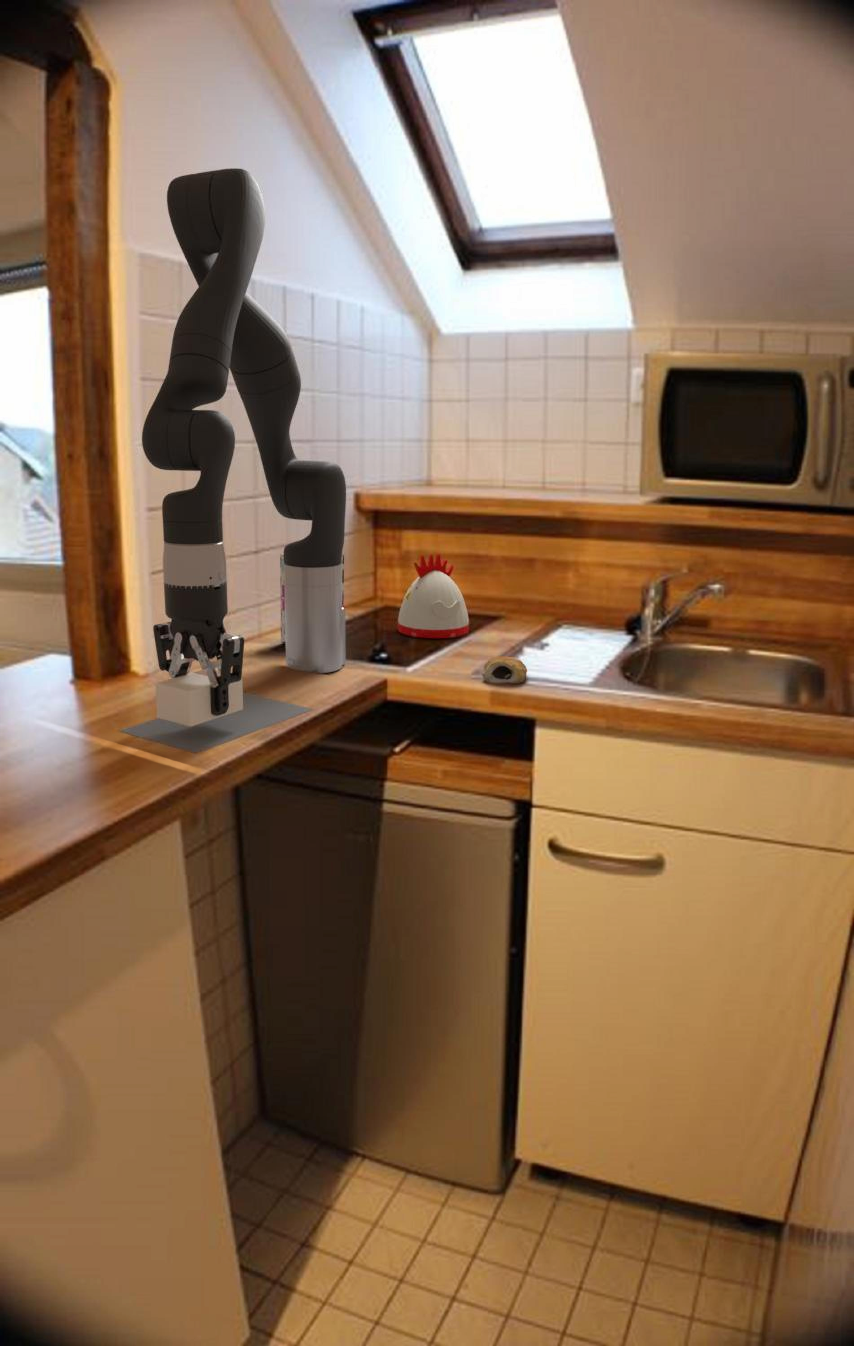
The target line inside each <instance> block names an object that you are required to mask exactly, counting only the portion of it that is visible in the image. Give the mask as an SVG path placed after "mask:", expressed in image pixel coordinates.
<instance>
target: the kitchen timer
mask: <svg viewBox="0 0 854 1346" xmlns="http://www.w3.org/2000/svg"><path fill="white" fill-rule="evenodd" d="M433 555H434V554H429V556H428V561H426V559H425V556H424V555H420V563H419V565H418V563H417V562H414V561H413V565H414V569H415V571H416V573H417V575H418V577H417V578H416V579H415V580H414V581H413V582H412V584H411V585H410V586H409V587H408V589H407V592H405V595H404V598H403V600H402V604H401V606H400V609H399V612H398V618H397V631H398V632H399V633H401V634H402V635H406V636H410V637H414V638H416V637H417V638H423V639H449V638H456V637H461V636H465V635H467V634H469V628H470V627H469V626H470V619H469V614H468V609H467V606H466V603H465V599H464V597H463V594H462V592H461V590H460V588H459V586H458V585H457V584H456V582H455V581H454V579H452V578H451V577H450V576H451V574H452V572H453V569H454V565H453V564H451V565H450V566H449V567H448V569H447V570H446V568H447V563H448V559H445V558H444V559H443V561H442V560H441V554H439V553H436V555H435V561H434V556H433ZM426 562H427V563H426Z"/></svg>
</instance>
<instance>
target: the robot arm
mask: <svg viewBox="0 0 854 1346" xmlns="http://www.w3.org/2000/svg"><path fill="white" fill-rule="evenodd" d="M166 192H167V193H166V204H167V205H166V206H167V212H168V215H169V216H168V217H169V219H170V223H171V227H172V229H173V232H174V236H175V238H176V240H177V242H178V243H177V244H178V245H179V247H180V249H181V252H182V254H183V256H184V259H185V260H186V262H187V265H188V266H189V268H190V272H191V273H192V275H193V277H194V280H195V281H196V285H197V286H198V287H197V288H196V290H195V291H194V293H193V294H192V296H191V297H190V298H189V300H188V301H187V303H186V304H185V305H184V307H183V309H182V310H181V313H180V314H179V317H178V319H177V321H176V325H175V327H174V330H173V334H172V342H171V348H170V355H169V361H168V367H167V373H166V375H165V378H164V380H163V382H162V384H161V386H160V388H159V391H158V393H157V395H156V396H155V399H154V401H153V402H152V405H151V407H150V409H149V410H148V413H147V414H146V417H145V420H144V423H143V428H142V431H141V432H142V433H141V444H142V449H143V452H144V455H145V457H146V459H147V460H148V461H149V462H148V463H150V464H151V465H152V466H153V467H155V468H157V469H159V470H162V471H163V470H164V471H178V472H179V471H181V472H182V471H183V472H185V471H187V472H189V471H190V472H200V476H199V478H198V481H197V483H196V484H195V486H194V487H191V488H188V489H185V490H183V489H182V490H179V491H178V490H177V491H174V492H169V493H168V494H166V495H165V496H164V498H163V499H162V503H161V504H162V505H161V508H162V509H161V510H162V511H161V513H162V529H163V530H162V533H163V554H162V575H163V590H164V591H163V592H164V593H163V594H164V611H165V616H166V617H167V618H169V619H171V621H167V622H162V623H159V624H154V625H153V627H152V630H153V636H154V643H155V650H156V656H157V663H158V668H159V669H160V671H166V672H167V673H168V676H169V677H170V678H171V679H172V678H176V677H179V676H183V675H187V674H190V670H191V667H192V665H193V662H194V661H197V662H198V663H199V665H200V668H201V670H203V671H206V673H207V676H208V678H209V681H210V684H211V686H212V687H210V698H211V714H212V715H215V716H219V715H222V714H225V713H226V712H227V710H228V707H229V702H228V701H229V699H228V698H229V694H228V686H229V684H230V683H233V682H238V681H240V680H241V677H242V678H243V674H242V673H243V665H244V664H243V663H244V661H243V660H244V650H245V638H244V636H243V635H241V634H240V635H235V636H234V635H231V634H229V633H227V631H226V629H225V625H224V619H225V617H226V616H227V614H228V611H229V610H228V608H229V607H228V581H227V558H226V553H225V552H226V551H225V547H224V534H223V531H224V530H223V504H224V496H225V492H226V491H225V490H226V485H227V481H228V476H229V472H230V468H231V464H232V461H233V458H234V457H233V456H234V453H235V452H234V451H235V449H236V448H235V447H236V435H235V431H234V428H233V425H232V423H231V421H230V420H229V418H228V417H227V416H226V415H225V414H224V413H222V412H221V411H218V410H213V409H196V408H198V407H201V406H206V405H209V404H211V403H216V402H218V401H220V400H222V398H223V397H224V395H225V394H226V391H227V387H228V382H229V381H228V380H229V374H230V373H231V375H232V378H233V381H234V384H235V386H236V390H237V392H238V394H239V396H240V399H241V401H242V402H241V403H243V407H244V409H245V410H244V411H245V412H246V415H247V418H248V421H249V425H250V427H251V429H252V430H251V431H252V433H253V435H254V439H255V442H256V446H257V448H258V452H259V453H258V454H259V456H260V461H261V464H262V468H263V473H264V476H265V480H266V484H267V489H268V492H269V496H270V498H271V501H272V503H273V506H274V507H275V509H276V511H277V512H278V514H279V515H280V516H282V517H284V518H287V519H289V520H297V521H312V522H311V528H310V532H309V534H308V535H307V536H305V537H304V538H302V539H300V540H296V541H294V542H290V543H287V544H286V545H285V546H284V548H283V554H284V589H285V641H286V644H285V667H287V668H288V669H290V670H294V671H300V672H309V673H314V674H326V673H331V672H336V671H339V670H340V669H341V668H343V665H346V663H347V662H346V658H347V657H346V609H345V608H344V606H343V607H342V564H341V563H342V553H343V549H344V544H345V530H346V529H345V527H346V508H347V507H346V505H347V488H346V487H347V484H346V478H345V474H344V472H343V470H342V468H341V467H340V465H338V464H337V463H336V462H334V461H333V462H331V461H323V460H322V461H320V460H301V459H300V460H299V459H298V457H297V456H296V454H295V452H294V449H293V445H292V441H291V436H290V435H291V434H290V431H291V424H292V420H293V417H294V415H295V414H294V413H295V411H296V408H297V405H298V402H299V398H300V395H301V389H302V388H301V387H302V379H301V374H300V373H301V372H300V370H299V367H298V363H297V360H296V357H295V354H294V350H293V348H292V345H291V342H290V339H289V337H288V335H287V333H286V331H285V330H284V329H283V327H282V326H281V325H280V324H279V323H278V321H276V319H275V318H274V317H272V315H271V314H269V312H268V311H266V309H265V308H263V306H261V304H259V303H258V302H257V301H256V300H255V299H254V298H253V297H252V296H251V295H250V293H248V292H247V290H248V288H249V284H250V282H251V279H252V276H253V275H252V274H253V272H254V268H255V264H256V262H257V258H258V255H259V252H260V249H261V246H262V242H263V238H264V232H265V224H266V208H265V202H264V198H263V195H262V191H261V189H260V186H259V184H258V182H257V181H256V179H255V178H254V177H253V175H252V174H251V173H250V172H249V171H248V170H245V169H244V168H233V167H232V168H222V169H215V170H209V171H202V172H197V173H191V174H185V175H180V176H176V177H175V178H173V179H172V180H171V181H170V182H169V183H168V187H167V191H166ZM167 651H168V654H169V658H168V657H167V656H168V655H167ZM214 658H216V660H213V659H214ZM216 670H218V671H219V674H220V676H217V673H216Z"/></svg>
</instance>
